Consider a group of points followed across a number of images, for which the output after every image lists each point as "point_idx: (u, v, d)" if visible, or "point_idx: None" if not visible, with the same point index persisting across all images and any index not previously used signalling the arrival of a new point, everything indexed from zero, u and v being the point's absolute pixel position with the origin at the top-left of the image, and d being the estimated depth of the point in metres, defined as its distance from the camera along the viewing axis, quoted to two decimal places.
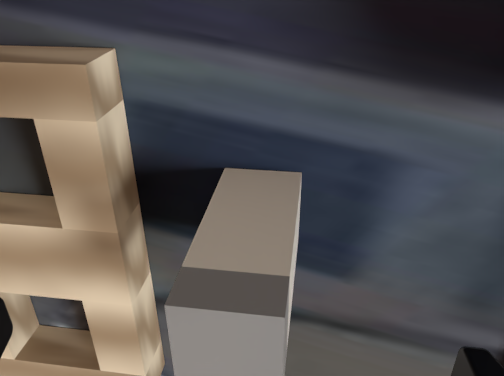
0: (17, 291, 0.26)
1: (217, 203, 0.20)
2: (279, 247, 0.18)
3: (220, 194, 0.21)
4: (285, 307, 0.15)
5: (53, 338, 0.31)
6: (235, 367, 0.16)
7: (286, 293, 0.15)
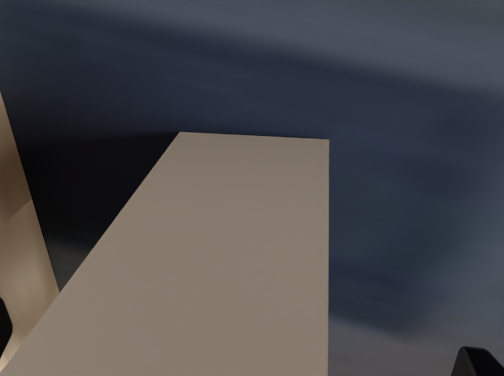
0: None
1: (148, 199, 0.09)
2: (290, 320, 0.06)
3: (159, 180, 0.10)
4: None
5: None
6: None
7: None
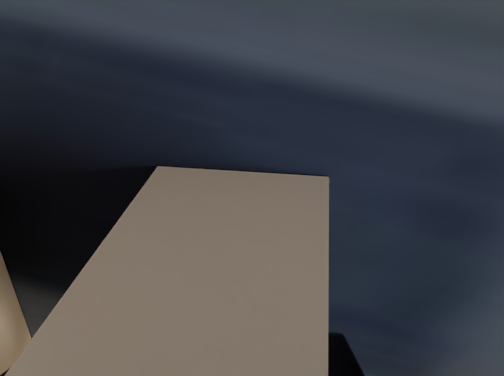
0: None
1: (110, 260, 0.08)
2: None
3: (127, 233, 0.08)
4: None
5: None
6: None
7: None
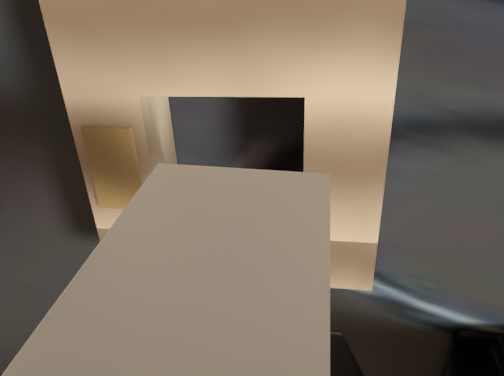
0: (193, 90, 0.16)
1: (110, 257, 0.08)
2: None
3: (127, 229, 0.08)
4: None
5: None
6: None
7: None
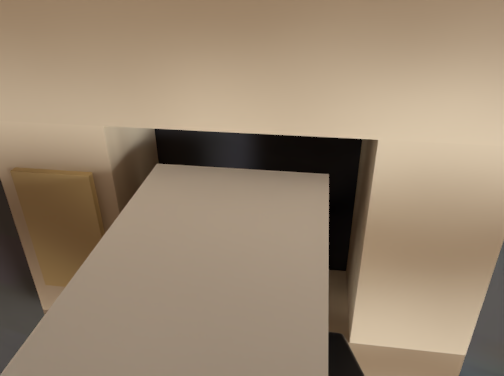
0: (192, 121, 0.10)
1: (109, 257, 0.08)
2: None
3: (126, 230, 0.08)
4: None
5: None
6: None
7: None
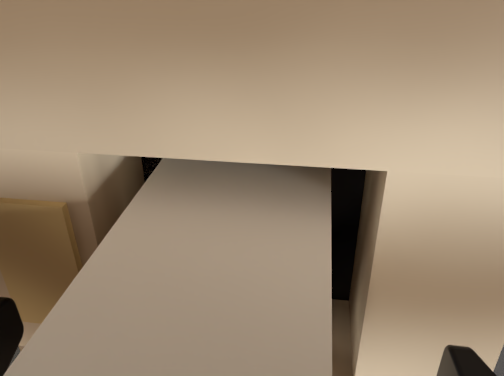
0: (176, 148, 0.09)
1: (143, 210, 0.09)
2: (292, 344, 0.06)
3: (156, 189, 0.09)
4: None
5: None
6: None
7: None
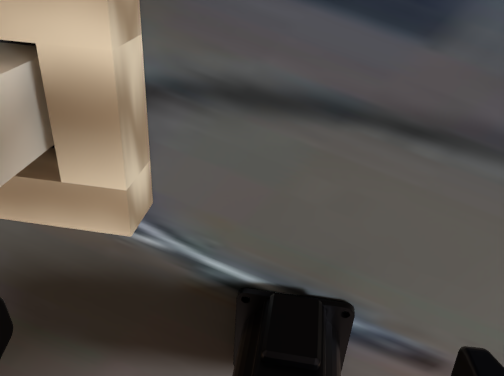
0: None
1: None
2: None
3: None
4: None
5: None
6: None
7: None
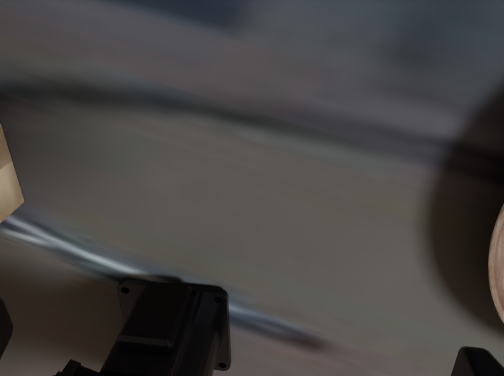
0: None
1: None
2: None
3: None
4: None
5: None
6: None
7: None
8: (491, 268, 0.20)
